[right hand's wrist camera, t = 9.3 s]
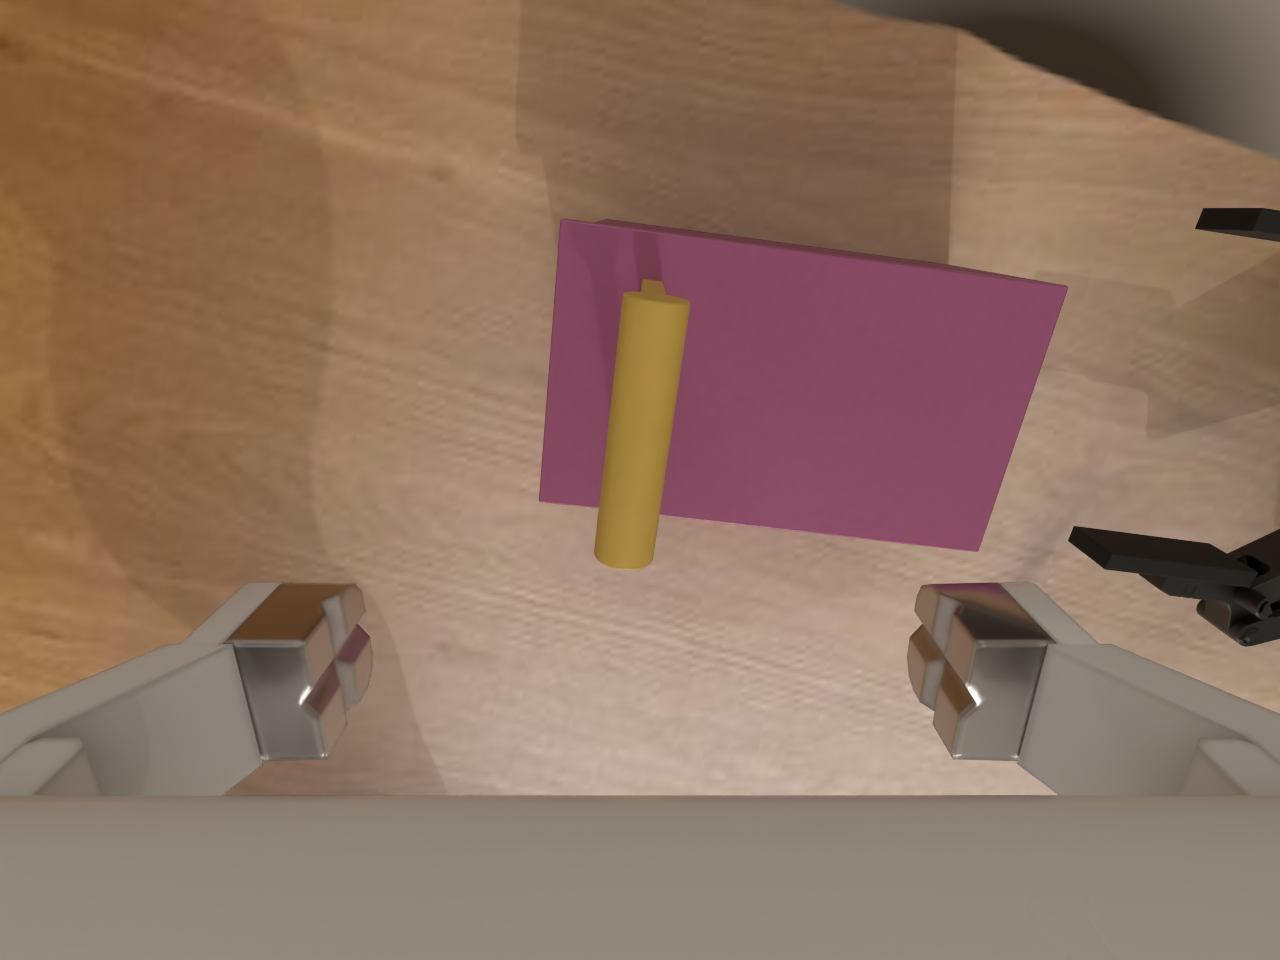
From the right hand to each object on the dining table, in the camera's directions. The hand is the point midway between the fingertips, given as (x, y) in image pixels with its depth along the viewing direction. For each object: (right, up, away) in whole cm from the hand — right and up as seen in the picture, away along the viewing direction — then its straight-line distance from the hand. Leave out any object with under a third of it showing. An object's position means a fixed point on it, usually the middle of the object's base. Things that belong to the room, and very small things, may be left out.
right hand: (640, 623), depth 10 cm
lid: (+5, +5, +15) cm, 17 cm away
